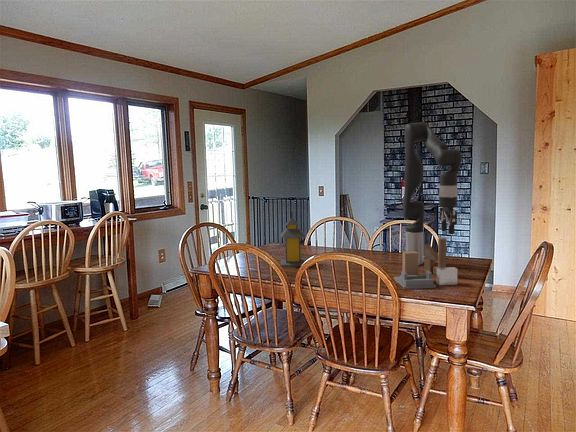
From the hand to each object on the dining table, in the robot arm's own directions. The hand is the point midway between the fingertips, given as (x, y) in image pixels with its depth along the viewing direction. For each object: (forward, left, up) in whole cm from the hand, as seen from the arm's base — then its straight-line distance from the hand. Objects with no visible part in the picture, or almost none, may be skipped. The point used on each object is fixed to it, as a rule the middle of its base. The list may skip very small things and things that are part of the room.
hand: (447, 232), depth 195 cm
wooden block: (-17, +1, -23) cm, 29 cm away
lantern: (-50, -67, -23) cm, 87 cm away
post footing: (-2, -14, -23) cm, 27 cm away
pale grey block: (0, 0, -23) cm, 23 cm away
